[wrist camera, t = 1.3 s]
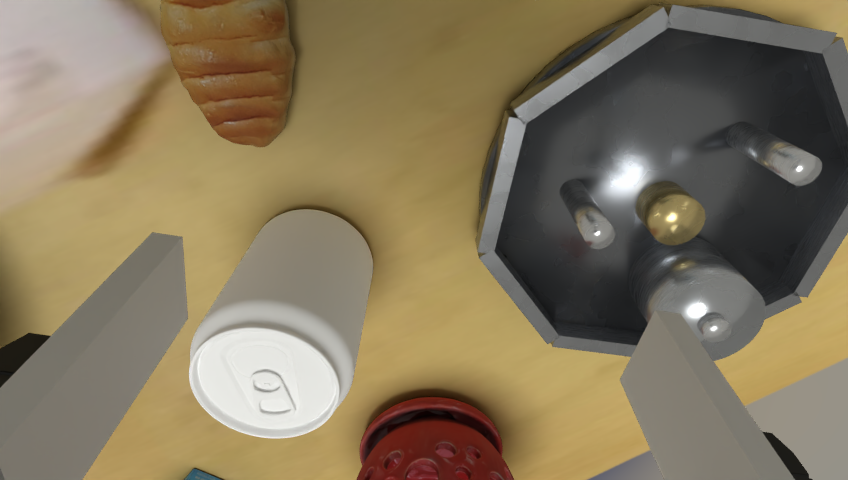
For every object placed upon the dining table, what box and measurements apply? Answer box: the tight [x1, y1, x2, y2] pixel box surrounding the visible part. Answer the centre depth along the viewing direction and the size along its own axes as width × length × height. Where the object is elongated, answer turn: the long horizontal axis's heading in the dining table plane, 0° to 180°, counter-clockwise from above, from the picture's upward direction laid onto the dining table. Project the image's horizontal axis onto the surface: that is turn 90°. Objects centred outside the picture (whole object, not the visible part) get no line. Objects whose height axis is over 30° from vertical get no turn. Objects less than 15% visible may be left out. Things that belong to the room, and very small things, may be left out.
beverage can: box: [189, 209, 373, 438], centre depth 29 cm, size 8×8×12 cm
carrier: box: [476, 2, 848, 361], centre depth 29 cm, size 22×22×7 cm
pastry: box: [160, 0, 296, 147], centre depth 27 cm, size 9×7×4 cm
